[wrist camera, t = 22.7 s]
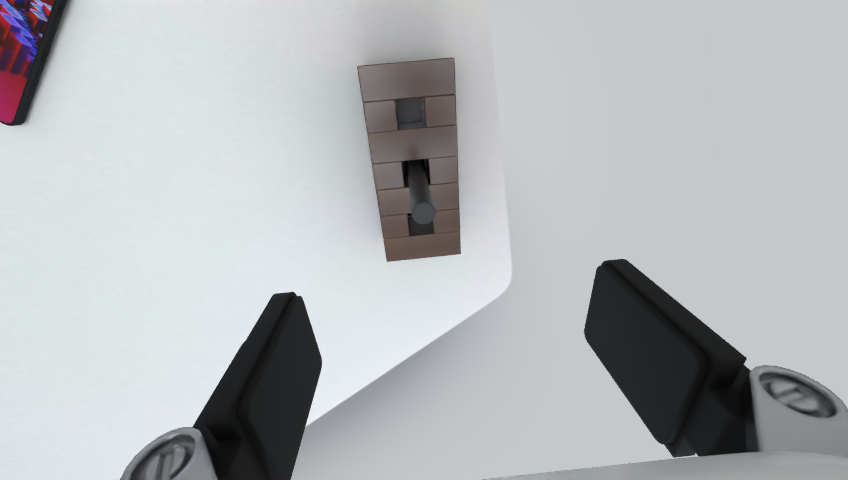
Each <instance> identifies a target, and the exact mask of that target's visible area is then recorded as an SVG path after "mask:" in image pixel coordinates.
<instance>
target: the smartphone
mask: <svg viewBox="0 0 848 480" xmlns="http://www.w3.org/2000/svg"><path fill="white" fill-rule="evenodd" d="M66 2H67V0H0V122H1V123H3V124H5V125H9V126H15V125H21V124H22V123H23V122H24V120H25V118H26V115H27V112H28V109H29V106H30V104H31V101H32V98H33V95H34V92H35V89H36V87H37V84H38V81H39V78H40V75H41V72H42V70H43V67H44V64H45V61H46V58H47V56H48V53H49V50H50V47H51V44H52V41H53V39H54V36H55V33H56V30H57V27H58V24H59V22H60V19H61V16H62V13H63V10H64V8H65V5H66Z"/></svg>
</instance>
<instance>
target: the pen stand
mask: <svg viewBox="0 0 848 480" xmlns="http://www.w3.org/2000/svg"><path fill="white" fill-rule="evenodd" d="M357 69H358V75H359V82H360V88H361V95H362V101H363V108H364V115H365V121H366V128H367V133H368V141H369V147H370V154H371V160H372V167H373V173H374V180H375V187H376V193H377V199H378V206H379V212H380V219H381V226H382V232H383V238H384V246H385V252H386V259H387V262H389V261H398V260H408V259H418V258H427V257H437V256H446V255H456V254H461V247H460V217H459V187H458V156H457V155H458V154H457V125H456V95H455V63H454V58H443V59H432V60H420V61H409V62H398V63H386V64H375V65H363V66H357ZM417 97H420V99H421V111H422V121H420V122H409V123H399V124H398V117H397V108H396V99H406V98H417ZM418 159H425V163H426V171H424V172H425V175H426V179H427V182H428V186H429V189H430V193H431V196H432V200H433V203H434V207H435V210H436V215H435V218H434V219H433V220H432V221H431V222H430V223H428V224H419V223H417V222H416V221H414V219H413V218H412V217H408V213H411V203H410V193H409V182H408V173H404V172H403V163H402V161H408V160H418Z"/></svg>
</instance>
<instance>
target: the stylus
mask: <svg viewBox="0 0 848 480" xmlns="http://www.w3.org/2000/svg"><path fill="white" fill-rule="evenodd" d="M407 172H408V182H409V193H410V203H411V214H412V218H413V219H414V221H416V222H417V223H419V224H428V223H430V222H431V221H432V220H433V219H434V218H435V215H436V210H435V207H434V203H433V200H432V196H431V193H430V189H429V186H428V182H427V179H426V175H425V172H424V168H423V165H422V162H421V160H420V159H418V160H408V162H407Z"/></svg>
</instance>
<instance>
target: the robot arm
mask: <svg viewBox="0 0 848 480" xmlns="http://www.w3.org/2000/svg"><path fill="white" fill-rule="evenodd" d="M584 334H585V338H586V340H587V342H588V343H589V345H590V346H591V348H592V349H593V351H594V352H595V353H596V355H597V356H598V358H599V359H600V361H601V362H602V363H603V365H604V366H605V368H606V369H607V371H608V372H609V373H610V375H611V376H612V378H613V379H614V381H615V382H616V383H617V385H618V386H619V388H620V389H621V391H622V392H623V394H624V395H625V396H626V398H627V399H628V401H629V402H630V404H631V405H632V406H633V408H634V409H635V411H636V412H637V413H638V415H639V416H640V417H641V419H642V421H643V422H644V424H645V425H646V426H647V428H648V429H649V431H650V432H651V434H652V435H653V436H654V438H655V439H656V440H657V441H658V442H659V443H661V444H664V445H665V446H666V448H667V449H668V450H669V452H670V453H671V455H672V456H673V457H682V456H691V455H695V453H696V454H697V455H698V456H699V457H688V458H678V459H668V460H658V461H649V462H640V463H630V464H621V465H611V466H602V467H592V468H583V469H573V470H565V471H555V472H546V473H538V474H528V475H519V476H510V477H501V478H492V479H484V480H848V409H847V407H846V406H845V404H844V403H843V401H842V400H841V399H840V398H839V397H837V395H835V394H834V393H833V392H832V391H831V390H829V389H828V388H826V387H825V386H823V385H822V384H820V383H819V382H817V381H815V380H813V379H811V378H809V377H807V376H805V375H803V374H801V373H798V372H795V371H793V370H790V369H786V368H782V367H778V366H768V365H763V366H758V367H755V368H754V369H753V370H749V369H748V368H747V367H746V366H745V365H743V364H744V363H745V361H746V357H744V356H743V355H742V354H741V353H740V352H738V351H737V350H736V349H735V348H734V347H732V346H731V345H730V344H729V343H727V342H726V341H725V340H724V339H722V338H721V337H720V336H719V335H718V334H716V333H715V332H714V331H713V330H712V329H710V328H709V327H708V326H707V325H705V324H704V323H703V322H702V321H701V320H699V319H698V318H697V317H696V316H694V315H693V314H692V313H690V311H688V310H687V309H686V308H685V307H683V306H682V305H681V304H680V303H678V302H677V301H676V300H675V299H673V298H672V297H671V296H670V295H668V294H667V293H666V292H665V291H664V290H662V289H661V288H660V287H659V286H658V285H656V284H655V283H654V282H653V281H652V280H650V279H649V278H648V277H646V276H645V275H644V274H643V273H642V272H641V271H639V270H638V269H637V268H636V267H634V266H633V265H632V264H631V263H629V262H628V261H627V260H625V259H618V260H608V261H604V262H603V263H602V265H601V266H599V267H598V268H597V270H596V275H595V279H594V284H593V289H592V294H591V299H590V304H589V309H588V314H587V319H586V324H585V329H584ZM321 367H322V359H321V355H320V352H319V349H318V345H317V342H316V339H315V336H314V333H313V330H312V326H311V323H310V320H309V317H308V314H307V311H306V308H305V304H304V301H303V299H302V297H301V296H297V295H296V294H295V293H294V292H288V293H278V294H274V295H273V296H272V297H271V299H270V301H269V303H268V304H267V306H266V308H265V309H264V311H263V313H262V314H261V316H260V318H259V319H258V321H257V323H256V324H255V326H254V328H253V329H252V331H251V333H250V334H249V336H248V338H247V340H246V341H245V342H244V343H243V344H242V346H241V347H240V349H239V350H238V352H237V354H236V355H235V357H234V359H233V360H232V362H231V364H230V365H229V367H228V369H227V370H226V372H225V374H224V375H223V377H222V379H221V380H220V382H219V384H218V385H217V387H216V389H215V390H214V392H213V394H212V395H211V397H210V399H209V400H208V402H207V404H206V405H205V407H204V409H203V410H202V412H201V414H200V415H199V417H198V419H197V420H196V422H195V424H194V425H193V427H182V428H179V429H175V430H172V431H169V432H167V433H165V434H163V435H161V436H160V437H158V438H156V439H155V440H154V441H152V442H151V443H149V444H148V445H147V446H145V447H144V448H143V449H142V450H141V451H140V452H139V453H138V454H137V455H136V456H135V457H134V458H133V460H132V461H131V462H130V463H129V465H128V466H127V467H126V469H125V471H124V473H123V475H122V477H121V479H120V480H290V479H291V476H292V472H293V469H294V465H295V462H296V458H297V454H298V451H299V447H300V444H301V440H302V436H303V433H304V429H305V426H306V422H307V418H308V415H309V411H310V408H311V404H312V400H313V397H314V393H315V390H316V386H317V383H318V379H319V375H320V372H321Z"/></svg>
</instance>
